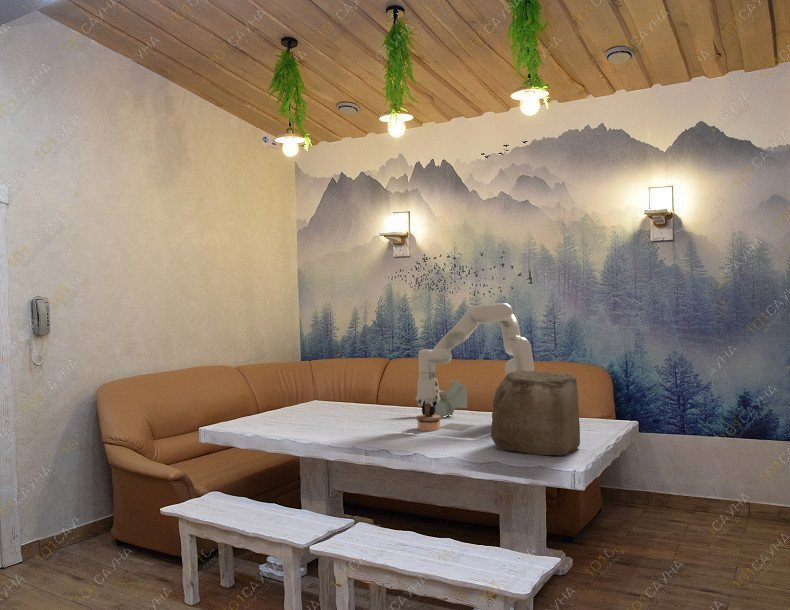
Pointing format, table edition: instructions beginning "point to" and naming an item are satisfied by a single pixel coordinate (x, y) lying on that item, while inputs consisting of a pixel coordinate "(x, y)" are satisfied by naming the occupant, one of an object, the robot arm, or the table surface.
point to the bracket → (451, 399)
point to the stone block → (536, 413)
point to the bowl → (429, 425)
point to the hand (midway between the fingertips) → (428, 414)
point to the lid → (428, 414)
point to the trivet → (456, 426)
